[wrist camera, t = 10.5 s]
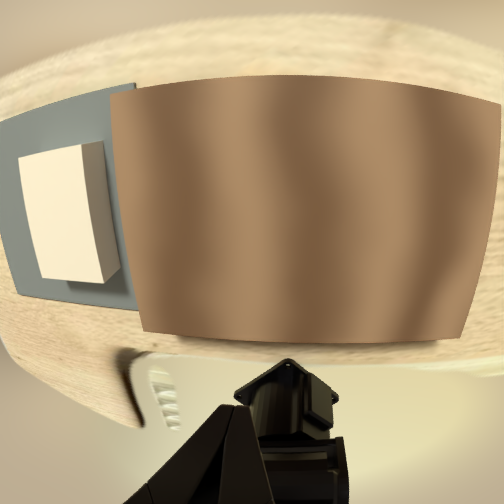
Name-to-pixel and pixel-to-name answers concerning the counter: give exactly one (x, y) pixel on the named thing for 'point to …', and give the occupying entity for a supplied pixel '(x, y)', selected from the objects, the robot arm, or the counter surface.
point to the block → (305, 207)
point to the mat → (13, 206)
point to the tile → (70, 213)
